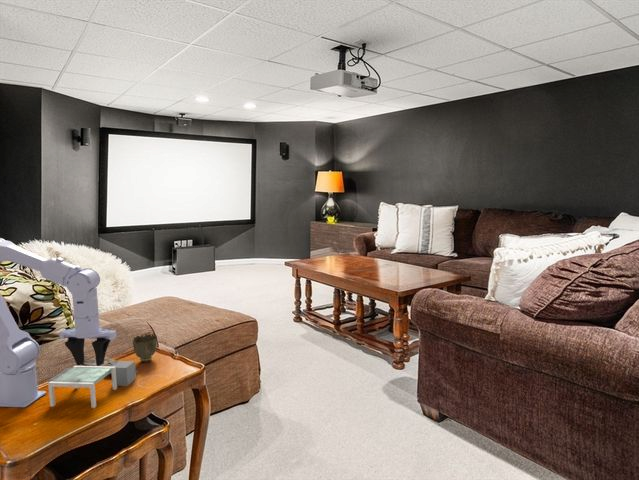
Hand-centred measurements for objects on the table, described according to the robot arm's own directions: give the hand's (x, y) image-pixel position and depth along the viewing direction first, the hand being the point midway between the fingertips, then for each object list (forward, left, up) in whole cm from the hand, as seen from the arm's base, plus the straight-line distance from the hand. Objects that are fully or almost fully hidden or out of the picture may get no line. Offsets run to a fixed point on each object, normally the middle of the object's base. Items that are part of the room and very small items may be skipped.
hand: (90, 364), depth 113 cm
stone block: (+4, +9, -10) cm, 14 cm away
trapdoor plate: (-3, 0, -4) cm, 5 cm away
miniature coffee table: (-2, 0, -9) cm, 10 cm away
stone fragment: (-8, +19, -10) cm, 23 cm away
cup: (+3, +24, -10) cm, 26 cm away
